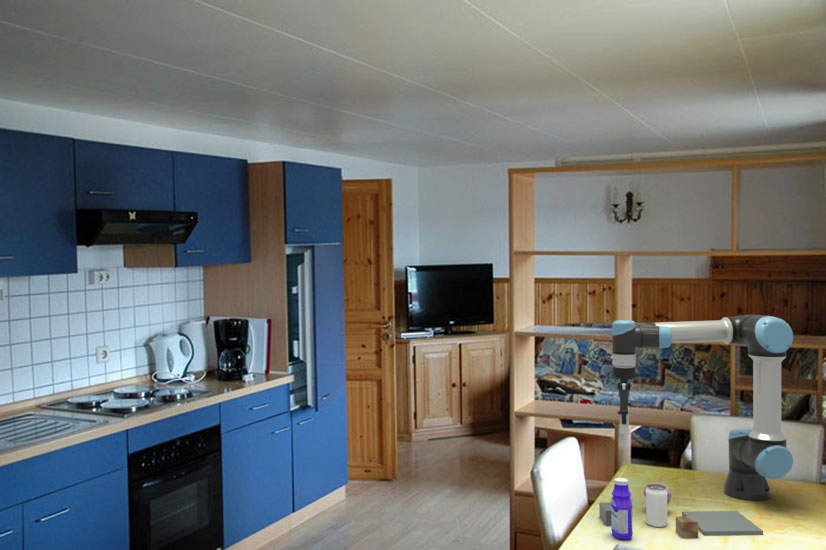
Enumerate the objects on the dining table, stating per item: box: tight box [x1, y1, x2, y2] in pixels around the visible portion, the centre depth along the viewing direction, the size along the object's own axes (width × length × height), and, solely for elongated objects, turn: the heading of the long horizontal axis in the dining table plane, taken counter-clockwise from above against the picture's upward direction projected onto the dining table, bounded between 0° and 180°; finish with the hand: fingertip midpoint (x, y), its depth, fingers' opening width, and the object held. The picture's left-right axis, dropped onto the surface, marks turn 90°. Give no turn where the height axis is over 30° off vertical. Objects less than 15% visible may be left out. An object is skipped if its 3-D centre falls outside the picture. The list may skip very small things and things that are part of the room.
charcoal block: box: [598, 501, 611, 527], centre depth 233 cm, size 4×8×5 cm, turn 179°
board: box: [681, 510, 764, 536], centre depth 229 cm, size 18×18×1 cm
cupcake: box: [642, 481, 673, 508], centre depth 241 cm, size 9×9×10 cm
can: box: [645, 484, 669, 528], centre depth 230 cm, size 6×6×12 cm
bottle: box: [610, 477, 634, 540], centre depth 220 cm, size 7×6×17 cm
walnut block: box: [675, 515, 699, 539], centre depth 220 cm, size 5×5×5 cm
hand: (624, 429), depth 243 cm, fingers open, 13 cm apart
